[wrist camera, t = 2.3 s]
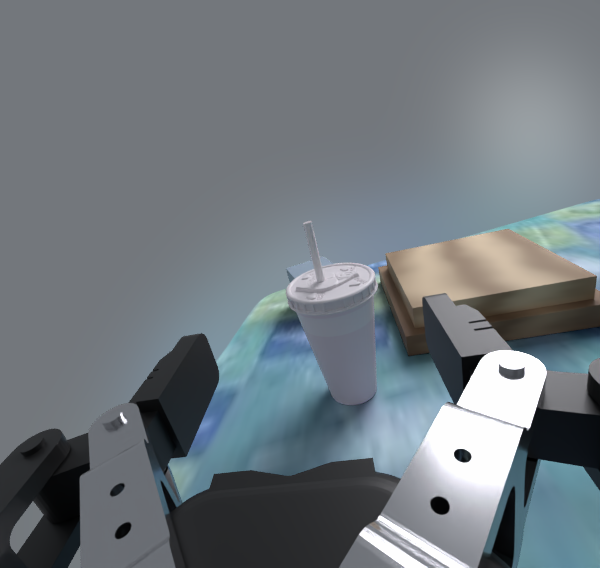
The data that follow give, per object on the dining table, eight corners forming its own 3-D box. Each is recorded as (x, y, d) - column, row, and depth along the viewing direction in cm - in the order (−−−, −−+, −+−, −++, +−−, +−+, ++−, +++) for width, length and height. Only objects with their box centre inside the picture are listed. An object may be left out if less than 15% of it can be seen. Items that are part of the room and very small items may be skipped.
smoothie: (310, 373, 30) (267, 222, 25) (380, 355, 30) (352, 200, 25) (320, 428, 25) (267, 246, 19) (407, 406, 25) (378, 217, 19)
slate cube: (330, 291, 45) (323, 256, 43) (345, 305, 41) (337, 266, 39) (295, 303, 44) (285, 268, 43) (306, 319, 40) (296, 280, 38)
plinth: (513, 256, 42) (513, 224, 40) (615, 324, 27) (621, 278, 25) (380, 281, 44) (375, 252, 43) (408, 356, 29) (403, 316, 28)
